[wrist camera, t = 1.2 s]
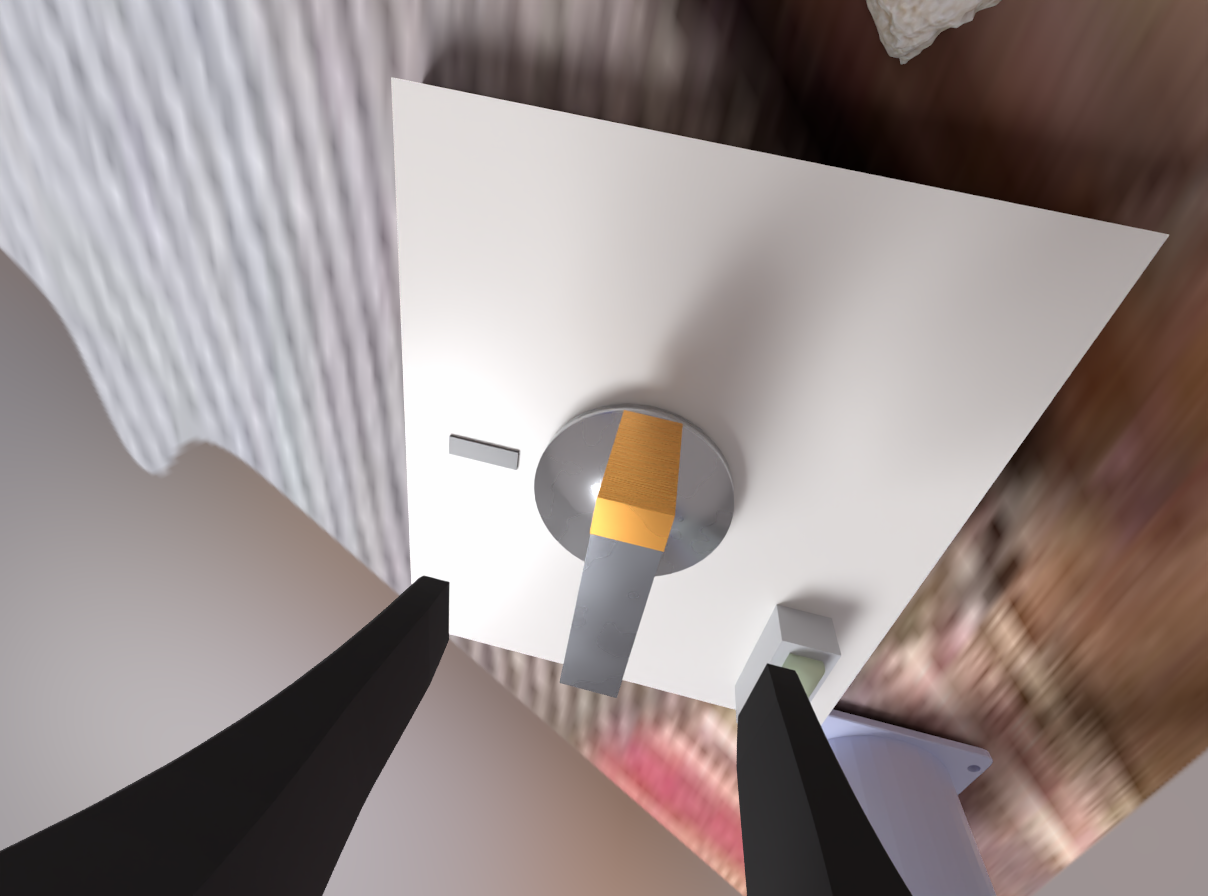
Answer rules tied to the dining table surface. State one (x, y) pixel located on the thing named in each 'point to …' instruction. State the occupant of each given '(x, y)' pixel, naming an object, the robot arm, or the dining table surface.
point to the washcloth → (919, 22)
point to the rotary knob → (628, 521)
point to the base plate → (719, 371)
